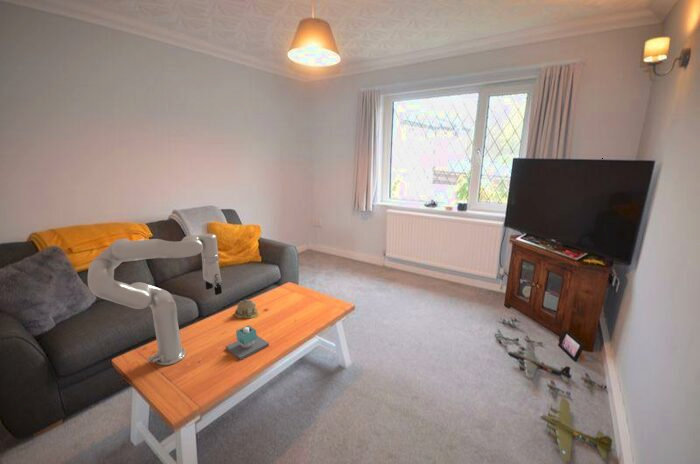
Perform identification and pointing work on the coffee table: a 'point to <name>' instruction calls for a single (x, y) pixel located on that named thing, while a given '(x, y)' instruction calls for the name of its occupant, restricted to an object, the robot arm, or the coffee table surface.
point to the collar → (246, 335)
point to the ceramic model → (246, 309)
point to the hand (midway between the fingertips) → (213, 291)
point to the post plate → (247, 350)
